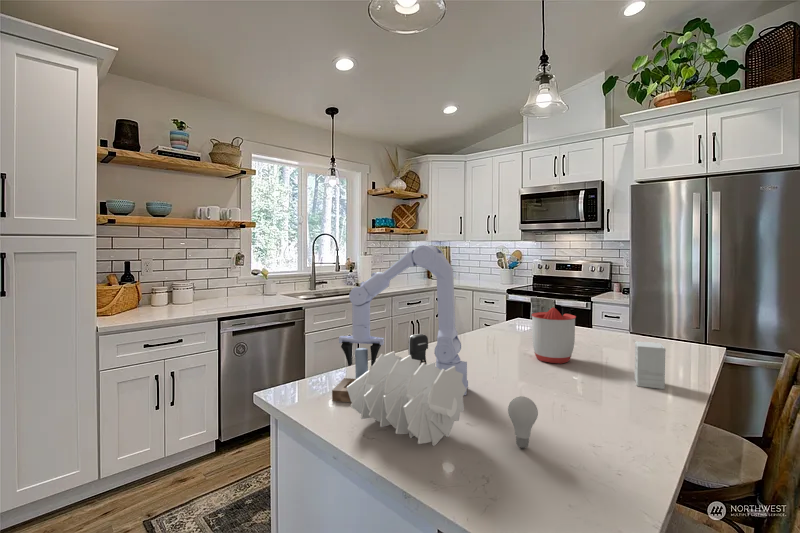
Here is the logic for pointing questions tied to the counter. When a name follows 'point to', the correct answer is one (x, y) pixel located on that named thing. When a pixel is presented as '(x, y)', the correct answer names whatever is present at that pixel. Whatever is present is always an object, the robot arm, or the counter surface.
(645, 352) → the supplement box
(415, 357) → the battery charger
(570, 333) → the citrus juicer
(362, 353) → the peg
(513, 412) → the lightbulb
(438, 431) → the spiral staircase
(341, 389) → the socket block
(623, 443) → the counter surface
